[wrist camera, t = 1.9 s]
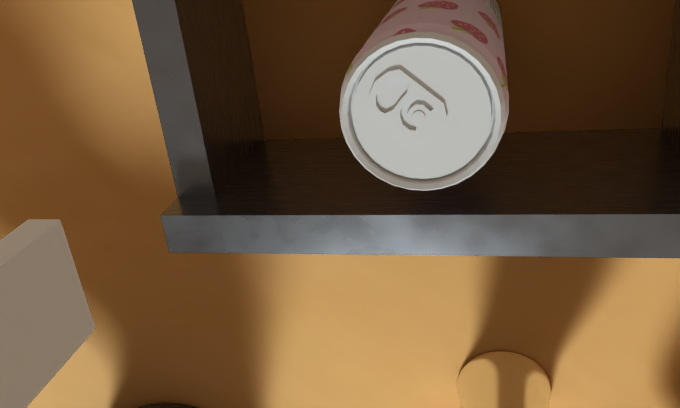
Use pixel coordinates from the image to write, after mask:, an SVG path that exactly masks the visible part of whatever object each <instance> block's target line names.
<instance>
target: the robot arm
mask: <svg viewBox="0 0 680 408" xmlns="http://www.w3.org/2000/svg"><path fill="white" fill-rule="evenodd" d="M95 329H96V328H95V325H94V322H93V319H92V316H91V313H90V310H89V306H88V303H87V300H86V297H85V294H84V291H83V288H82V285H81V282H80V279H79V275H78V272H77V269H76V266H75V263H74V260H73V257H72V254H71V251H70V248H69V244H68V241H67V238H66V235H65V232H64V229H63V226H62V223H61V220H60V219H28V220H26V221H25V222H24V223H22V224H21V225H20V226H18V227H17V228H16V229H14V230H13V231H11V232H10V233H9V234H7V235H6V236H5V237H3V238H2V239H0V408H26V407H27V406H28V405H29V404H30V403H31V402H32V401H33V399H34V398H35V397H36V396H37V395H38V394H39V393H40V392H41V390H42V389H43V388H44V387H45V386H46V385H47V384H48V382H49V381H50V380H51V379H52V378H53V377H54V376H55V374H56V373H57V372H58V371H59V370H60V369H61V368H62V366H63V365H64V364H65V363H66V362H67V361H68V360H69V359H70V357H71V356H72V355H73V354H74V353H75V352H76V351H77V349H78V348H79V347H80V346H81V345H82V344H83V343H84V341H85V340H86V339H87V338H88V337H89V336H90V335H91V334H92V332H93V331H94V330H95ZM141 408H193V407H189V406H183V405H175V404H156V405H149V406H144V407H141Z"/></svg>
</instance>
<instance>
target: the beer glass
mask: <svg viewBox="0 0 680 408" xmlns="http://www.w3.org/2000/svg"><path fill="white" fill-rule="evenodd" d="M457 391H458V397H459V402H460V407H461V408H549V404H550V396H551V387H550V382H549V379H548V377H547V375H546V373H545V371H544V370H543V369H542V368H541V367H540V366H539V365H538V364H537V363H536V362H534V361H533V360H531V359H530V358H528V357H526V356H523V355H521V354H517V353H513V352H507V351H495V352H488V353H484V354H481V355H479V356H477V357H475V358H473V359H472V360H470V361H469V362H468V363H467V364H466V365H465V366H464V367H463V369H462V370H461V372H460V374H459V377H458V381H457Z"/></svg>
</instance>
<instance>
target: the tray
mask: <svg viewBox="0 0 680 408" xmlns="http://www.w3.org/2000/svg"><path fill="white" fill-rule="evenodd" d="M132 3H133V7H134V11H135V15H136V20H137V24H138V28H139V32H140V37H141V41H142V45H143V50H144V54H145V58H146V62H147V67H148V71H149V75H150V79H151V84H152V88H153V92H154V97H155V101H156V105H157V109H158V114H159V118H160V122H161V126H162V131H163V135H164V139H165V144H166V148H167V152H168V156H169V161H170V165H171V169H172V173H173V178H174V182H175V186H176V191H177V195H178V198H177V199H176V200H175V201H174V202H173V203H172V204H171V205H170V206H169V207H168V208H167V209H166V210H165V211H164V212H163V213H162V214H161V215H160V216H161V220H162V224H163V228H164V232H165V236H166V240H167V244H168V248H169V252H183V253H271V254H359V255H447V256H535V257H623V258H680V0H676V5H675V14H674V23H673V32H672V41H671V49H670V58H669V67H668V76H667V85H666V93H665V102H664V111H663V120H662V128H654V129H621V130H588V131H556V132H523V133H503V135H502V137H501V140H500V142H499V144H498V146H497V148H496V150H495V152H494V153H493V154H492V156H491V157H490V158H489V160H488V161H487V162H486V164H485V165H484V166H483V167H481V168H480V169H479V170H478V171H477V172H476V173H474V174H473V175H472V176H470V177H469V178H467V179H465V180H463V181H461V182H460V183H458V184H455V185H452V186H449V187H446V188H442V189H435V190H427V191H422V190H409V189H405V188H401V187H398V186H394V185H391V184H389V183H387V182H385V181H383V180H381V179H379V178H377V177H376V176H375V175H373V174H372V173H371V172H369V171H368V170H367V169H365V168H364V166H363V165H362V164H361V163H360V162H359V161H358V160H357V159H356V158H355V156H354V155H353V153H352V151H351V150H350V148H349V146H348V145H347V143H346V140H345V138H327V139H294V140H264V134H263V128H262V122H261V116H260V110H259V104H258V97H257V91H256V85H255V79H254V73H253V67H252V61H251V55H250V49H249V43H248V36H247V30H246V24H245V18H244V12H243V6H242V0H132Z"/></svg>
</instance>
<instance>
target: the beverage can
mask: <svg viewBox="0 0 680 408" xmlns="http://www.w3.org/2000/svg"><path fill="white" fill-rule="evenodd" d="M339 114H340V123H341V129H342V132H343V134H344V137H345V140H346V143H347V145H348V146H349V148H350V150H351V151H352V153H353V155H354V156H355V158H356V159H357V160H358V161H359V162H360V163H361V164H362V165H363V166H364V168H365V169H367V170H368V171H369V172H371V173H372V174H373V175H375V176H376V177H377V178H379V179H381V180H383V181H385V182H387V183H389V184H391V185H394V186H398V187H401V188H405V189H409V190H422V191H427V190H435V189H442V188H446V187H449V186H452V185H455V184H458V183H460V182H461V181H463V180H465V179H467V178H469V177H470V176H472V175H473V174H474V173H476V172H477V171H478V170H479V169H480V168H481V167H483V166H484V165H485V164H486V162H487V161H488V160H489V158H490V157H491V156H492V154H493V153H494V152H495V150H496V148H497V146H498V144H499V142H500V140H501V137H502V135H503V133H504V131H505V128H506V123H507V119H508V114H509V92H508V81H507V70H506V60H505V49H504V38H503V27H502V17H501V13H500V8H499V5H498V3H497V1H496V0H397V1H396V2H395V4H394V5H393V6H392V8H391V9H390V10H389V12H388V13H387V14H386V16H385V17H384V18H383V20H382V21H381V22H380V24H379V25H378V26H377V28H376V29H375V31H374V32H373V33H372V35H371V36H370V37H369V39H368V40H367V41H366V43H365V44H364V45H363V47H362V48H361V49H360V51H359V52H358V53H357V55H356V56H355V58H354V59H353V61H352V63H351V65H350V66H349V68H348V70H347V72H346V75H345V78H344V81H343V84H342V87H341V97H340V108H339Z"/></svg>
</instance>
